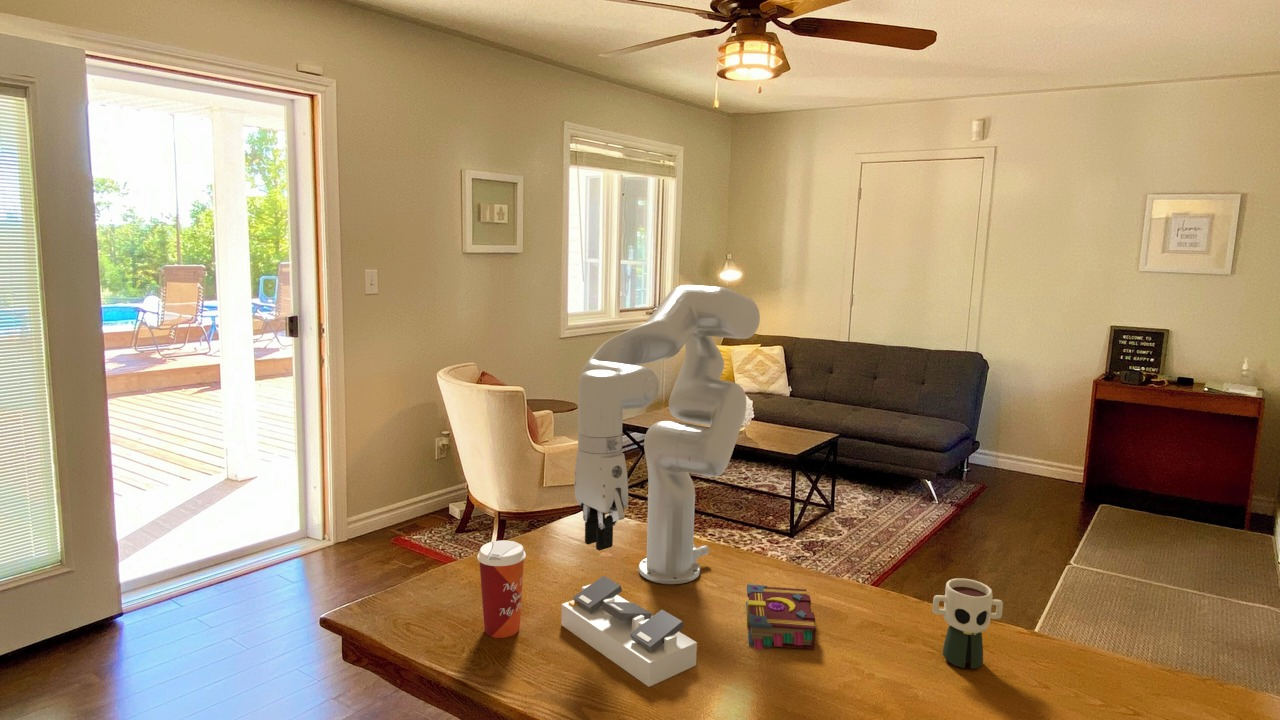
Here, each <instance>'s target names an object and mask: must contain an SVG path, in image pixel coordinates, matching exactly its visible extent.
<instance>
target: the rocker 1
mask: <svg viewBox="0 0 1280 720" xmlns="http://www.w3.org/2000/svg"><path fill="white" fill-rule="evenodd" d="M590 584H591V585H590ZM590 584H588V585H589V586H588V587H587V588H585V589H584V590H582V589H581V591H579V592H578V593H577V594H575V595H574V596H573V598H572V599H574V602H575V603H576V604H578V605H579V606H581V607H582V608H584V609H585V610H587V611H588V612H590V613H593V612H594V611H596V610H597V609H598V608H600V607H601V606H602V604H603V600H605V599H608V598H611V597H615V596H616V595H619V594H620V593H622V591H623V589H622V586H621V585H620V584H618V583H617V582H615V581H614V580H612V579H610V578H608V577H607V576H605V575H602V576H601V577H600V578H598V579H597V580H596V581H594V582H592V583H590Z"/></svg>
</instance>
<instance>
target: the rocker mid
mask: <svg viewBox="0 0 1280 720" xmlns="http://www.w3.org/2000/svg"><path fill="white" fill-rule="evenodd" d="M601 609H603V610H604V611H606V612H607V613H609V614H610V615H612V616H614V617H615V618H617V619H618V620H632V618H634V617H637V616H640V615H643V616H644V620H646V619H650V618H651V617H652V616H653V613H652V612H650V611H649V610H647V609H645V608H643V607H642V606H641V605H639V604H637V603H635V602H631V601H628V602H603V604H602V608H601Z"/></svg>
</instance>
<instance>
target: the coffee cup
mask: <svg viewBox="0 0 1280 720" xmlns="http://www.w3.org/2000/svg"><path fill="white" fill-rule="evenodd" d="M526 557H527V555H526V551H525V550H524V546H523V545H522V544H521V543H518V542H517V541H512V540H505V539H504V540H502V539H501V540H495V541H493V540H492V541H490V542H487V543H485V544H483V545H482V546H481V547H480V549H479V552H478V554H477V557H476V558H477V561H478V562H479V572H480V573H479V574H480V587H481V599H482V600H481V601H482V603H481V604H482V614H483V626H484V632H485V634H486V635H487V636H488V637H491V638H494V639H505V638H506V639H507V638H510V637H513V636H516V634H517V633H519V631H520V627H521V614H522V611H521V610H522V601H523V600H522V599H523V583H524V582H523V578H524V564H525V563H524V561H525V559H526Z"/></svg>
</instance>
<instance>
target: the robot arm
mask: <svg viewBox="0 0 1280 720" xmlns="http://www.w3.org/2000/svg"><path fill="white" fill-rule="evenodd" d="M760 321H761V316H760V309H759V306H758V305H757V303H756V302H755V301H754V300H753V298H750V297H748V296H746V295H743V294H741V293H740V292H737V291H735V290H733V289H730V288H727V287H723V286H714V285H711V286H709V285H697V284H682V285H679V286H677V287H674V288H673V289H672V290H671V291H670V292H669V293H668V294H667V296H666V297H665V298H664V299H663V300H662V302H661V303H660V304H659V305H658V306H657V308H656V309H655V310H654V311H653V313H652V314H650V316H649V317H648V319H647V320H645V322H644V323H643V324H639V325H638V326H634V327H633V328H630V329H628V330H626V331H624V332H622V333H619V334H617V335H616V336H613V337H611V338H610V339H608V340H607V341H605V342H604V343H602V344H601V345H600V346H599V347H598V348H597V349H596V350H595V351H594V353H593V354H591V356H590V357H589V358H588V360H587V361H586V363H585V364H584V366H583V368H582V370H581V372H580V375H579V378H578V399H577V400H578V405H577V407H578V412H577V414H578V416H577V422H578V423H577V424H578V425H577V452H576V459H575V466H574V467H575V470H574V480H573V481H574V482H573V483H574V484H573V485H574V496H575V497H574V498H575V501H576V502H577V503H578V505H579V506H580V509H581V511H582V519H583V521H584V543H585V545H591V544H595V549H596V550H597V551H602V550H605V549H609V548H612V547H613V544H614V543H613V542H614V526H616V523H617V522H618V521H622V520H625V518H626V516H625V512H624V510H626V509H627V508H628V505H629V480H628V469H627V468H628V467H627V464H626V463H627V462H626V456H625V453H623V451H622V450H623V415H624V414H623V412H624V411H625V410H634V409H635V410H638V409H642V408H645V407H647V406H649V405H650V404H651V403H652V402H654V401H655V399H656V397H657V395H658V392H659V388H660V387H659V380H658V377H657V375H656V373H655V372H654V371H653V370H652V369H650V368H648V367H646V366H642V365H645V364H649V363H650V364H651V363H655V362H659V361H660V362H661V361H664V360H667V359H670V358H672V357H675V356H676V355H678V354H679V352H681V349H683V347H684V346H685V354H684V359H683V361H682V362H683V363H682V365H681V368H680V370H679V372H678V375H677V377H676V379H675V382H674V385H673V387H672V390H671V394H670V397H669V399H668V411H669V413H670V415H671V416H672V417H673V418H675V419H677V420H679V421H675V420H662V421H657V422H655V423H653V424H652V425H651V426H650V427H649V428H648V429H647V431H646V433H645V436H644V443H643V449H644V455H645V461H646V466H647V468H646V469H647V478H648V479H647V480H648V483H647V486H648V487H647V488H648V491H647V492H648V495H647V523H646V524H647V528H646V558H644V559H641V561H640V562H639V564H638V572H639V574H640V575H641V576H642V577H643V578H645V580H648V581H650V582H653V583H657V584H662V585H681V584H685V583H686V584H687V583H689V582H693V581H694V580H696V579H697V578H698V577H699V576H700V574H701V566H700V564H699V563H698V562H697V560H699V558H700V557H702V556H705V555H709V553H710V548H709V546H708V545H702V546H698V547H697V546H696V544H694V538H695V537H694V536H695V535H694V534H695V533H694V531H695V506H696V505H695V503H696V502H695V501H696V488H695V484H694V482H693V478H691V475H690V474H695V475H697V476H698V475H699V476H703V477H709V478H710V477H718V476H721V475H722V474H723V473H724V472H725V471H726V469H727V467H728V466H729V464H730V461H731V457H732V455H733V452H734V448H735V446H736V443H737V440H738V437H739V434H740V432H741V428H742V425H743V423H744V420H745V415H746V412H747V395H746V392H745V390H744V387H742V385H740V384H738V383H736V382H734V381H732V380H731V381H730V380H723V379H721V378H722V377H721V376H722V374H723V372H724V368H725V360H724V358H723V355H722V352H721V351H720V349H719V348H718V346H717V345H716V343H715V340H714V338H713V337H717V338H725V339H737V340H747V339H750V338H752V337H753V336H754V335H755V334H756V332H757V330H758V328H759V326H760ZM680 421H681V422H680ZM682 421H683V422H682ZM692 423H693V424H692ZM703 425H704V426H703ZM606 515H607V516H606Z"/></svg>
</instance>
